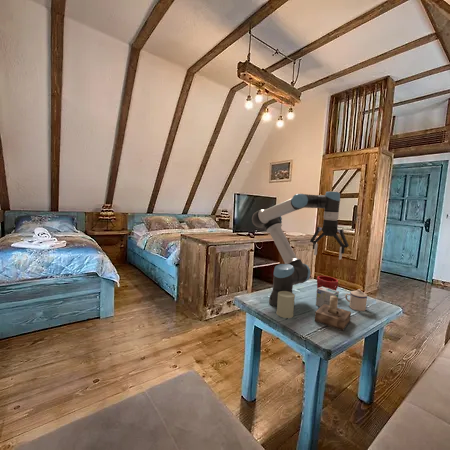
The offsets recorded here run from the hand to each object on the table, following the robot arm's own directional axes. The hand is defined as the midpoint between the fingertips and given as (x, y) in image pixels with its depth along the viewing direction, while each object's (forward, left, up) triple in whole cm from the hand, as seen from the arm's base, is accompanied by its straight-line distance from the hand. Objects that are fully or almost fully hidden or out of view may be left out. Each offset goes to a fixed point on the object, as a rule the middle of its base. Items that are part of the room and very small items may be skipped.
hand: (327, 257), depth 139 cm
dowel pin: (+8, -9, -31) cm, 33 cm away
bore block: (+8, -9, -32) cm, 34 cm away
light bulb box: (0, +7, -32) cm, 33 cm away
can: (-14, -20, -32) cm, 40 cm away
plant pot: (-6, +26, -32) cm, 42 cm away
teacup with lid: (+13, +19, -32) cm, 39 cm away
